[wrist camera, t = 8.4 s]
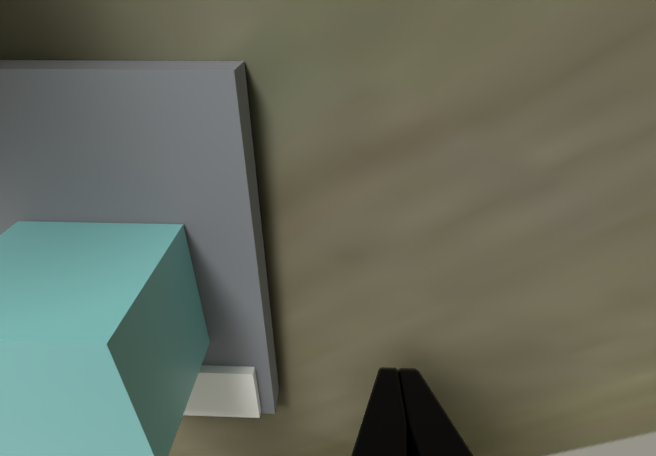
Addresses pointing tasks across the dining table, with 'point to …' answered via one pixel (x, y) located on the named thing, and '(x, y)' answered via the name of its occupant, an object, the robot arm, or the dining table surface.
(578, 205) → the dining table surface
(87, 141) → the grey flat board
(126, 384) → the teal cube
